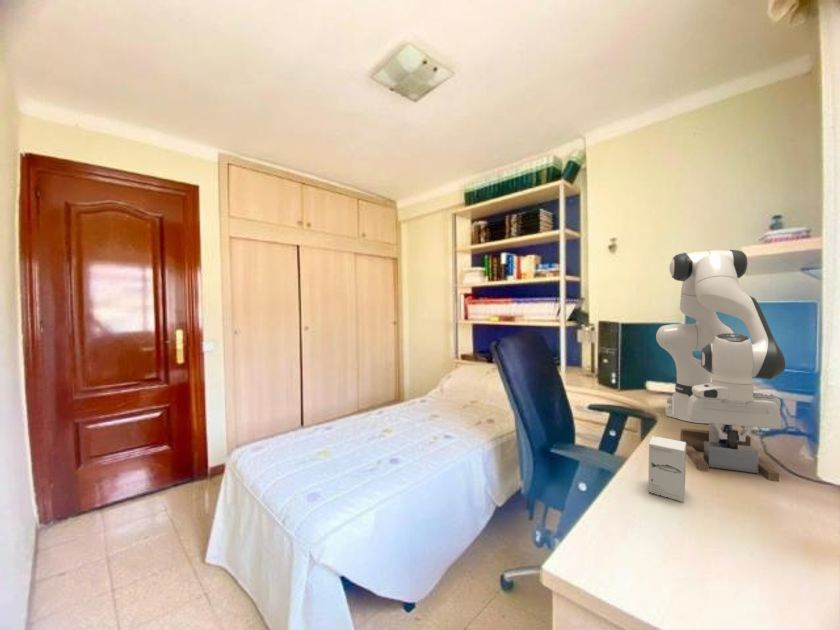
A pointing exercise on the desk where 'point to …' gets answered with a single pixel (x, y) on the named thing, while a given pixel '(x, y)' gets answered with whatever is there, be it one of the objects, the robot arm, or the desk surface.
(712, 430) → the energy drink
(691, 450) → the vise frame
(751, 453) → the sliding jaw
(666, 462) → the supplement box
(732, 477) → the desk surface
